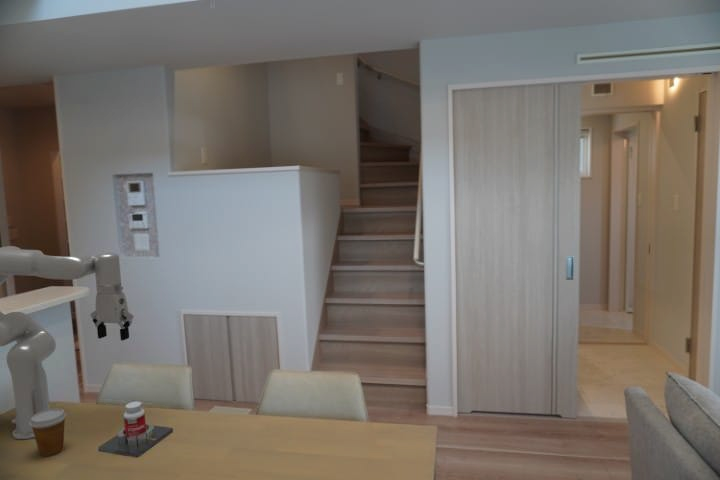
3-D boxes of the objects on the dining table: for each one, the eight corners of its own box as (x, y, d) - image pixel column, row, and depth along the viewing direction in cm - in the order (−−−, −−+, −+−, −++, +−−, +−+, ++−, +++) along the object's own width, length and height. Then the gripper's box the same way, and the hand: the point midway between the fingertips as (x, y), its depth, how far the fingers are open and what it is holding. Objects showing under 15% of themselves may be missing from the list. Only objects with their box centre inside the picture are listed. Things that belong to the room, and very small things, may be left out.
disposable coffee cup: (76, 446, 153) (72, 410, 152) (45, 462, 144) (41, 424, 143) (56, 440, 157) (53, 405, 156) (26, 456, 148) (22, 418, 147)
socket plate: (98, 450, 150) (97, 439, 150) (136, 426, 165) (135, 415, 165) (137, 457, 146) (136, 445, 145) (173, 431, 161) (172, 420, 160)
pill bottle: (127, 444, 151) (124, 410, 150) (124, 436, 156) (121, 403, 155) (148, 438, 154) (145, 405, 153) (144, 430, 159) (142, 398, 158)
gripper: (138, 287, 164) (142, 336, 166) (98, 286, 169) (102, 333, 171) (121, 292, 157) (125, 343, 159) (80, 290, 162) (84, 340, 164)
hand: (113, 338), depth 165 cm, fingers open, 9 cm apart
